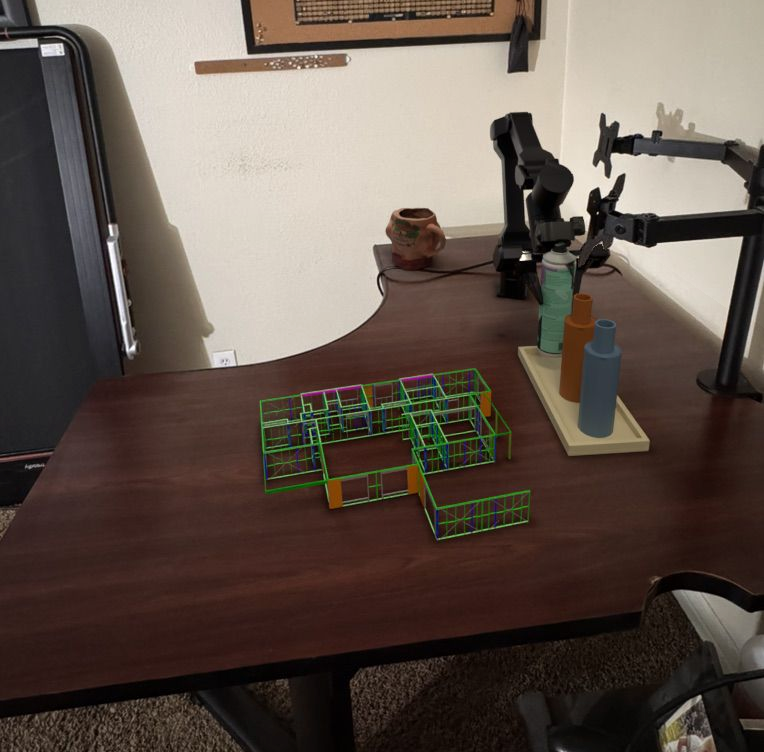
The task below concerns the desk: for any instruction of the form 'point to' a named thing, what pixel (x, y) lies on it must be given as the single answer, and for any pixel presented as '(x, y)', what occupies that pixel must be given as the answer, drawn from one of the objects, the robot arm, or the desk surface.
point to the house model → (413, 471)
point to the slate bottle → (600, 381)
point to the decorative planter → (414, 237)
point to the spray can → (555, 299)
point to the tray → (566, 413)
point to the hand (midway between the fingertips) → (558, 303)
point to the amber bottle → (575, 346)
